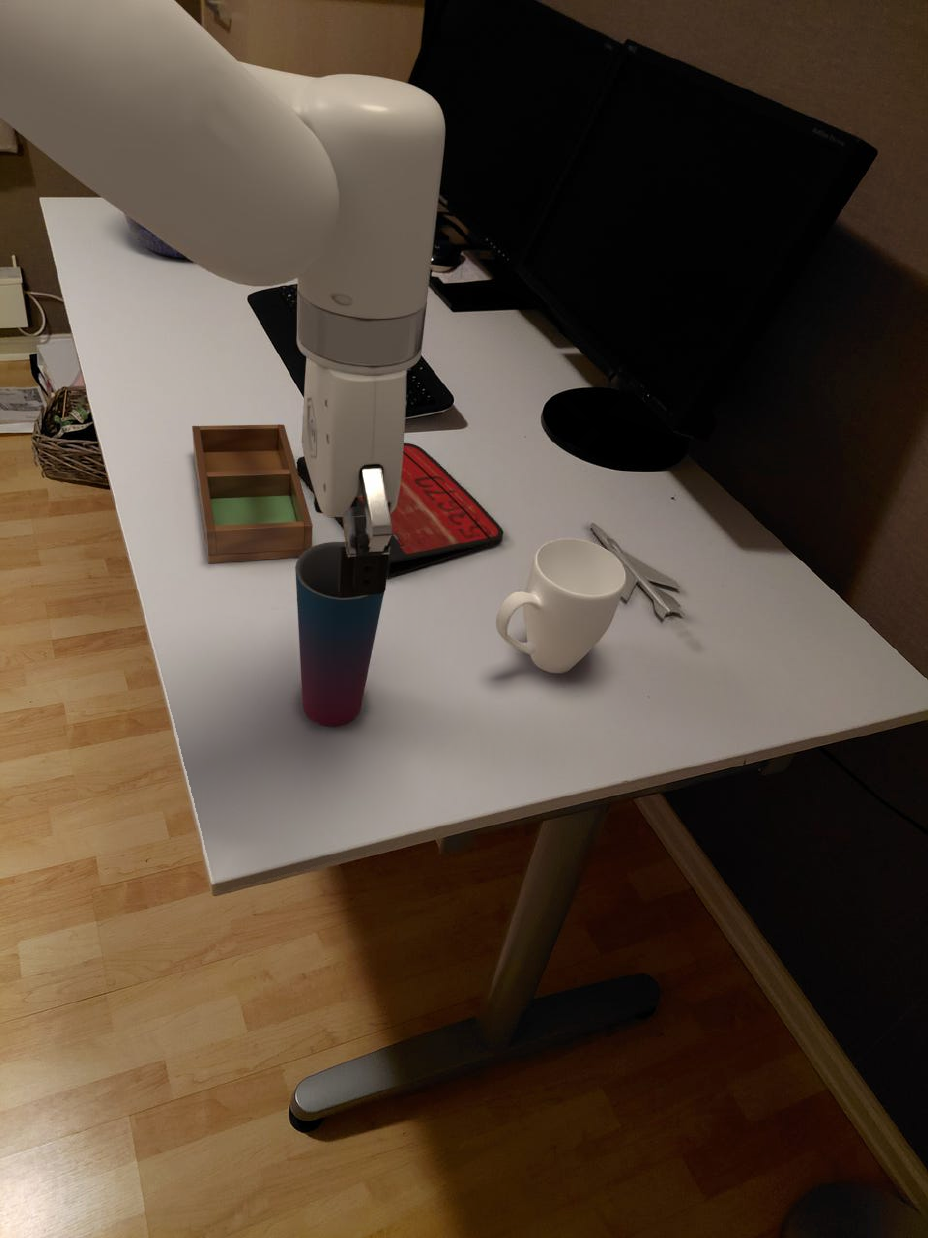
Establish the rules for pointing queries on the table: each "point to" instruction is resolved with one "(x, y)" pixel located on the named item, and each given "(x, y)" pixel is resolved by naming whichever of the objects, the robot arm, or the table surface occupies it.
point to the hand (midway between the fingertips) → (347, 549)
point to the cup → (332, 637)
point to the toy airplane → (642, 577)
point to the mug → (565, 602)
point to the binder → (428, 515)
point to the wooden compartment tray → (250, 493)
